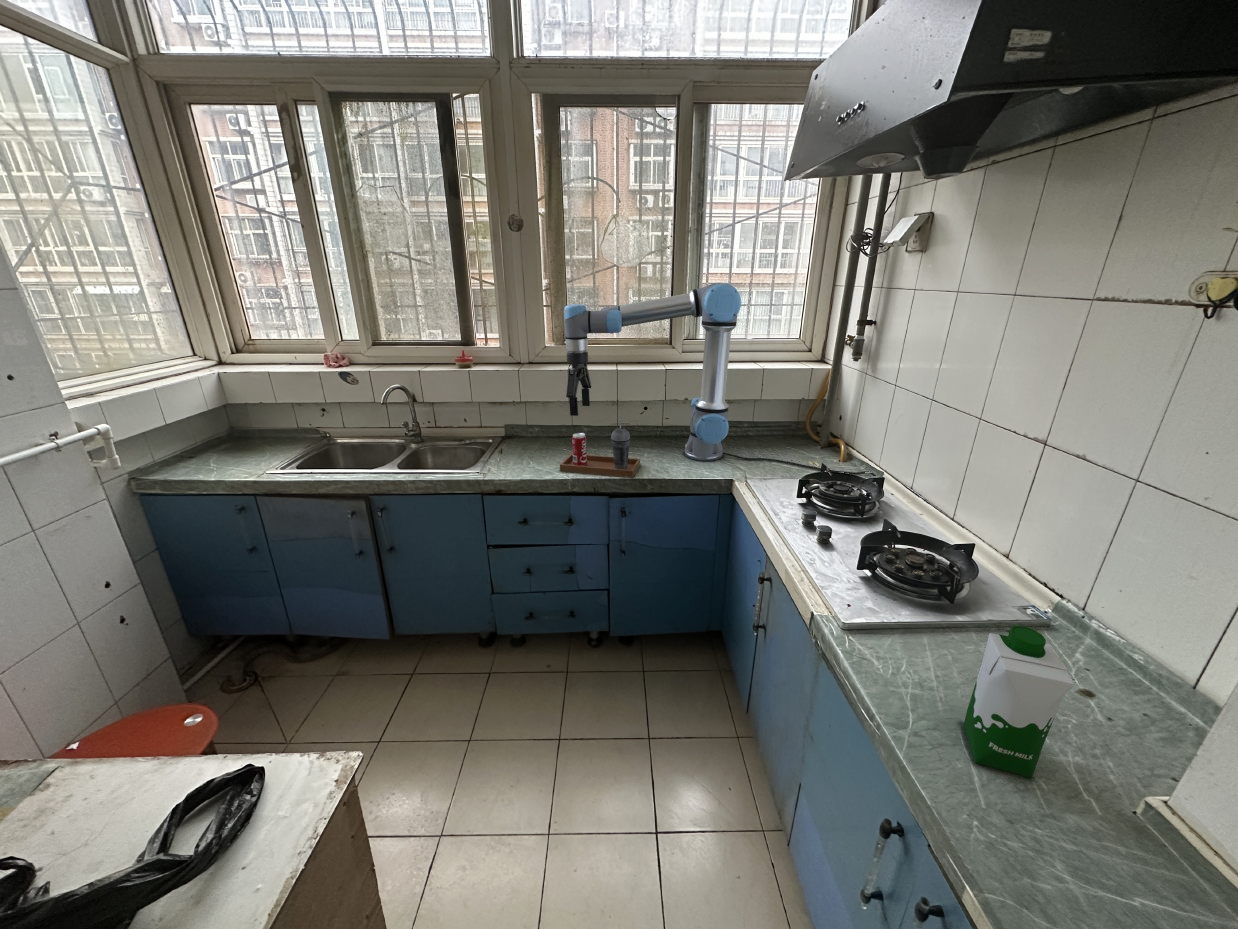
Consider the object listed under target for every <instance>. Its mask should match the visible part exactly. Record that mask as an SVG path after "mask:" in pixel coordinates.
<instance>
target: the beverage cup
mask: <svg viewBox="0 0 1238 929" xmlns="http://www.w3.org/2000/svg"><path fill="white" fill-rule="evenodd" d="M618 419H619V427H617V428H615V429H614V430H613V431H612V433H611V435H610V442H611V446H612V453H613V454H612V455H613V456H612V457H614V465H615V469H624V470H626V469H627V465H628V458H629V452H630V444H631V435H630V432H629V431H628V429H626V428H624V427H622V417H621V416H619V418H618Z"/></svg>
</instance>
